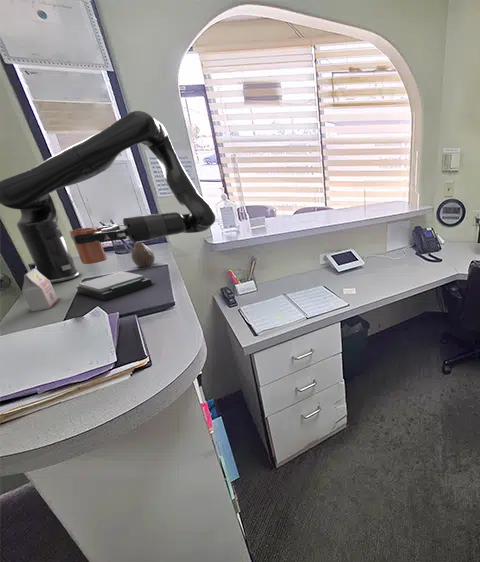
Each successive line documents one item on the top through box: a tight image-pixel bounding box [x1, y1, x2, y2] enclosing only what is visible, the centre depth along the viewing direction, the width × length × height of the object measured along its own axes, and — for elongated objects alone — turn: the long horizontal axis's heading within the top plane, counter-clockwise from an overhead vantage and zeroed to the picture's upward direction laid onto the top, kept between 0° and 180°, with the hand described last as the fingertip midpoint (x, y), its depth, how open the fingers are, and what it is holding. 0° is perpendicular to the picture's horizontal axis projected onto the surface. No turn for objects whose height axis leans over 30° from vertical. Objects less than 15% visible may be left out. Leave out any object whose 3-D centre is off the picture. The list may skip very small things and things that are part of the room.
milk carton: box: [21, 268, 59, 312], centre depth 85 cm, size 4×7×10 cm, turn 30°
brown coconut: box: [130, 242, 156, 268], centre depth 117 cm, size 7×7×9 cm
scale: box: [76, 270, 153, 301], centre depth 96 cm, size 15×13×3 cm
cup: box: [69, 227, 108, 265], centre depth 86 cm, size 5×5×9 cm
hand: (73, 238), depth 83 cm, fingers closed on cup, 5 cm apart
